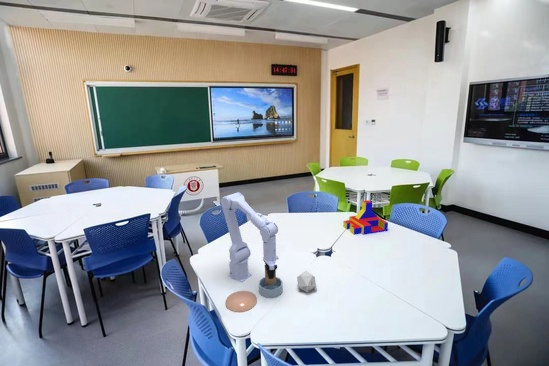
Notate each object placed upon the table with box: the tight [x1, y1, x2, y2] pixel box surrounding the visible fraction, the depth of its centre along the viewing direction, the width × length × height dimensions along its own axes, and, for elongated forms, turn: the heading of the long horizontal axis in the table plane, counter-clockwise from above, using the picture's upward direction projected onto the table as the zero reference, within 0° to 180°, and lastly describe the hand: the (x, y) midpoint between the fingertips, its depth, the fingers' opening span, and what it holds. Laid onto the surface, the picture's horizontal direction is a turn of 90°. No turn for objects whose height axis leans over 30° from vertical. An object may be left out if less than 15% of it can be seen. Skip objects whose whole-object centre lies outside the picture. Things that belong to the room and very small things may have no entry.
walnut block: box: [264, 268, 277, 285], centre depth 133 cm, size 4×4×7 cm
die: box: [296, 270, 317, 293], centre depth 135 cm, size 8×9×10 cm
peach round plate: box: [225, 290, 258, 313], centre depth 128 cm, size 14×14×1 cm
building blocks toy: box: [342, 200, 389, 236], centre depth 201 cm, size 19×25×18 cm
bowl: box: [258, 276, 284, 299], centre depth 134 cm, size 11×11×4 cm
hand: (270, 275), depth 133 cm, fingers closed on walnut block, 4 cm apart
